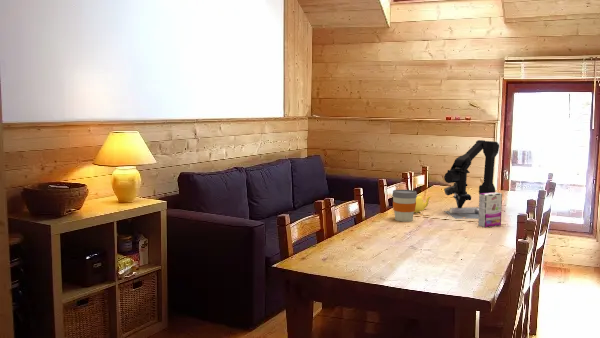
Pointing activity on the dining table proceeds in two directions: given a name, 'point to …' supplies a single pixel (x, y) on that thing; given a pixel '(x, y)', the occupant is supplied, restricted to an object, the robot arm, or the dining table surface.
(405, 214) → the reusable coffee cup
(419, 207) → the teapot
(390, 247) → the dining table surface
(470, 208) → the dial lever
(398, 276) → the dining table surface
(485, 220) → the candy bar box
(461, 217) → the dial plate
